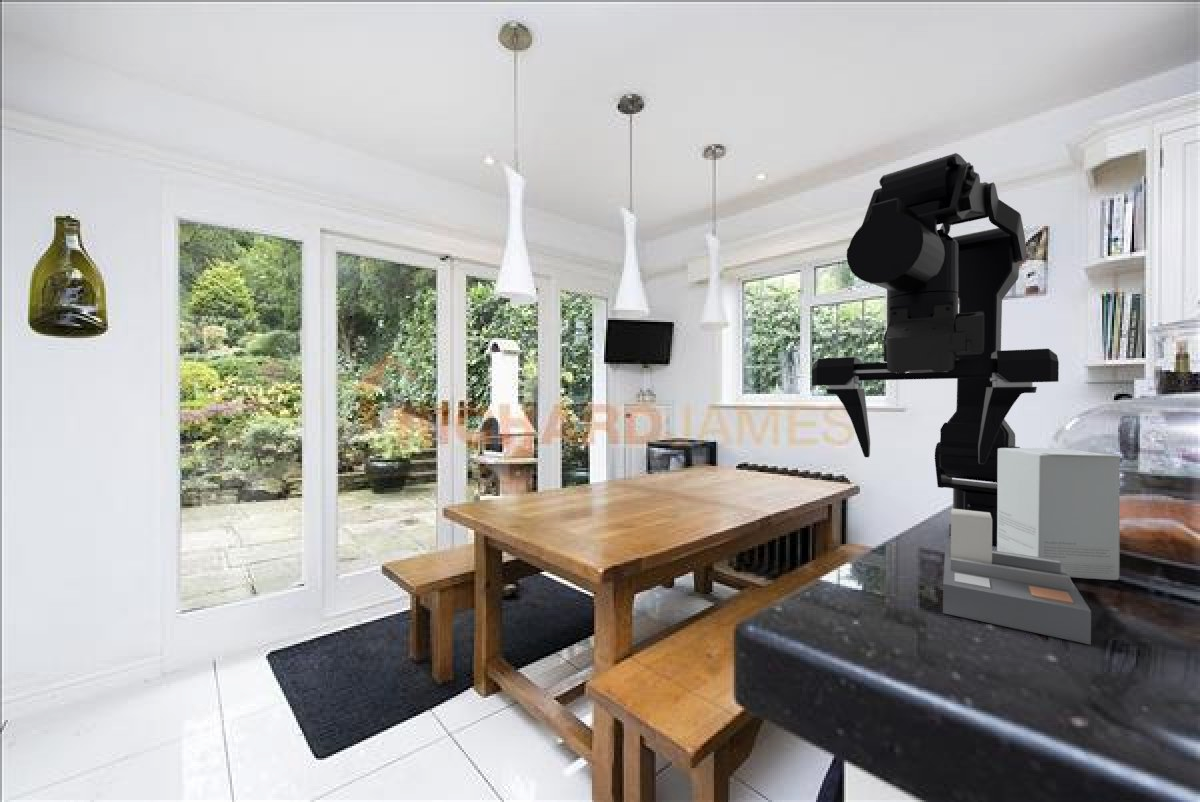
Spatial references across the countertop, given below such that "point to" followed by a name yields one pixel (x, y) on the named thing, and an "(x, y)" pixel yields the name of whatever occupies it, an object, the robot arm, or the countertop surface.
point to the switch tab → (971, 535)
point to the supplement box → (1060, 508)
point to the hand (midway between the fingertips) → (921, 460)
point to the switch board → (1016, 595)
